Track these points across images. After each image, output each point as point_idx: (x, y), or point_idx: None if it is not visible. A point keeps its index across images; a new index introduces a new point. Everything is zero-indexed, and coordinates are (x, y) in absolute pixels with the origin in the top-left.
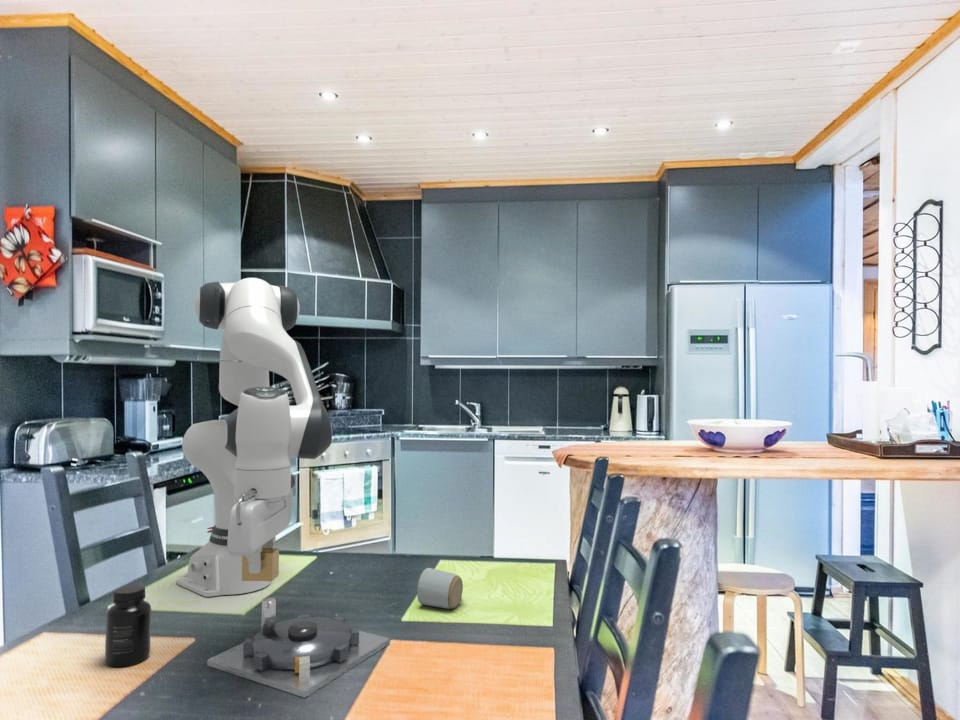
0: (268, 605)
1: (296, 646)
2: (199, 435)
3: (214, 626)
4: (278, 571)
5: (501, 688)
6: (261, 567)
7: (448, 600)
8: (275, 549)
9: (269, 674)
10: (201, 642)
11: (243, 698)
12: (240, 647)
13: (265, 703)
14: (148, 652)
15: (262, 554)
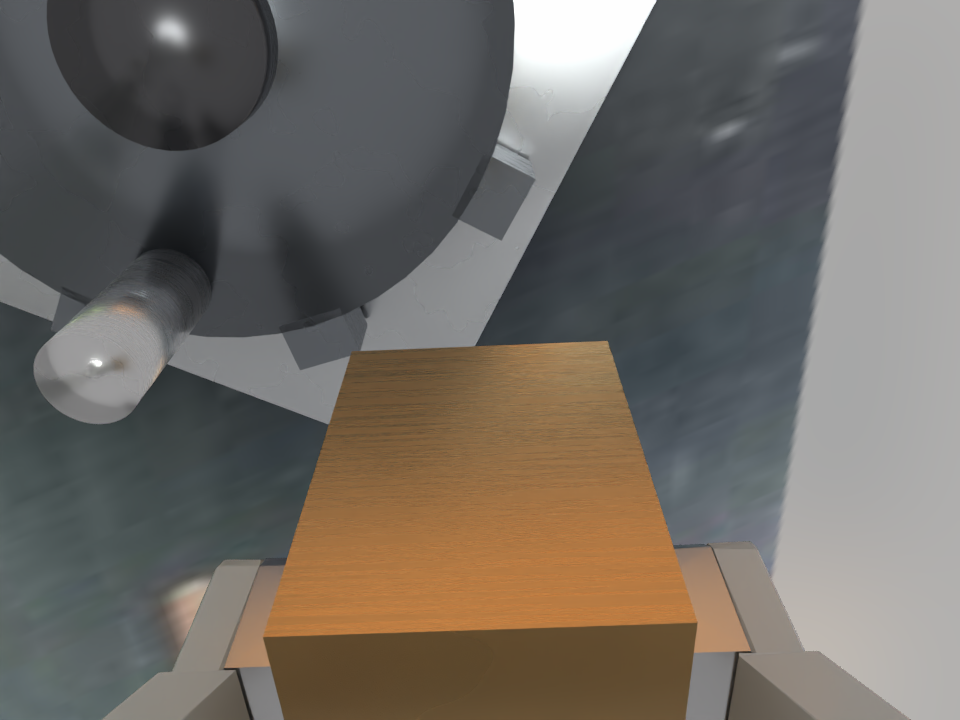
0: (142, 355)
1: (354, 19)
2: None
3: (40, 571)
4: (351, 375)
5: None
6: (686, 573)
7: None
8: (380, 665)
9: (551, 108)
10: (209, 551)
11: (721, 161)
12: (271, 373)
13: (782, 28)
14: None
15: None
